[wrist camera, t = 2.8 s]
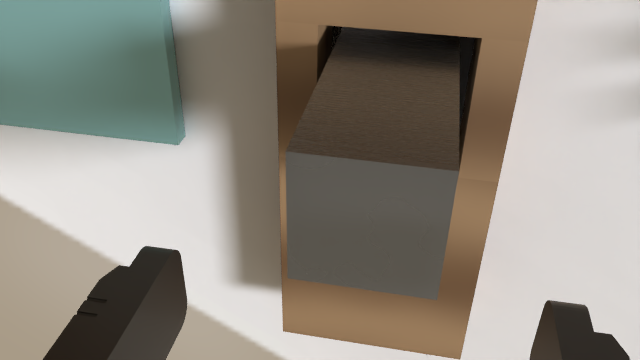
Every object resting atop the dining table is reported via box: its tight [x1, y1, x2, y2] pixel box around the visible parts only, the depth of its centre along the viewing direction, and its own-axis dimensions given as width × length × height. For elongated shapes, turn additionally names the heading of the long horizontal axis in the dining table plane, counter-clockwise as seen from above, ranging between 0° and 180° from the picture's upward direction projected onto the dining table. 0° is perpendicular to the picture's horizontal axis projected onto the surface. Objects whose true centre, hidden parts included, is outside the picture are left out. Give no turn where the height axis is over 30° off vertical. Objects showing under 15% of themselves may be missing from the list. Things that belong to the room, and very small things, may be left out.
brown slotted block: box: [275, 0, 538, 359], centre depth 22 cm, size 24×8×3 cm, turn 179°
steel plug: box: [285, 27, 460, 300], centre depth 19 cm, size 4×4×10 cm
